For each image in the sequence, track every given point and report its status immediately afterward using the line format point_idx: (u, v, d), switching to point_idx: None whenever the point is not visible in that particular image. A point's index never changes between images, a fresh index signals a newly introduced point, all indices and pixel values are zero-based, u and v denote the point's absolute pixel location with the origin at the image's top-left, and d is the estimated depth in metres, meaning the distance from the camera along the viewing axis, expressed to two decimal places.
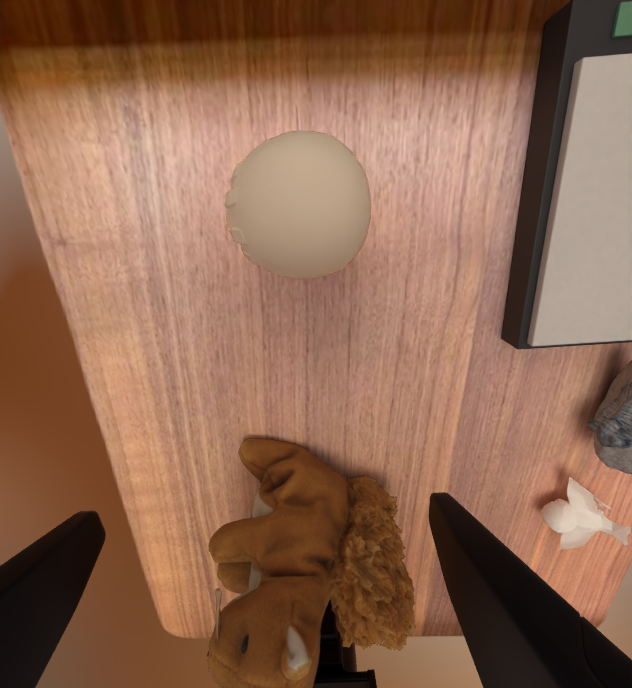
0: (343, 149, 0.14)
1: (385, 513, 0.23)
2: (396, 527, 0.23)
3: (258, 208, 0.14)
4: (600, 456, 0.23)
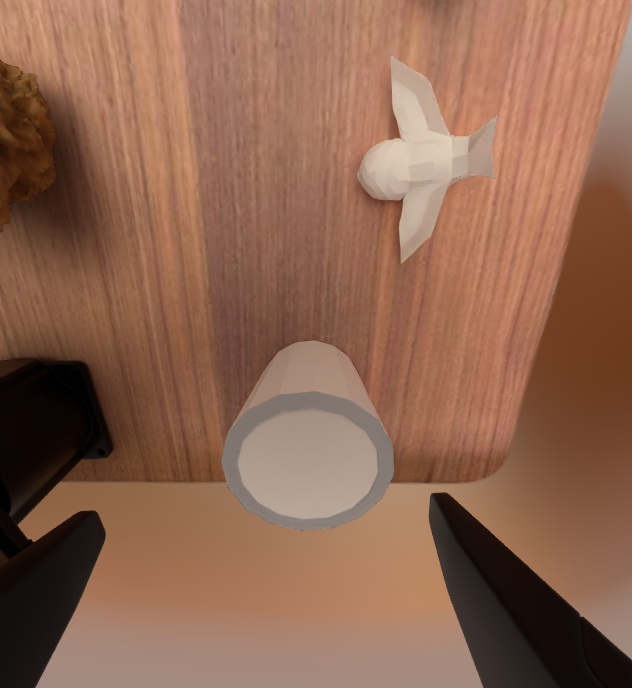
0: None
1: None
2: None
3: None
4: None
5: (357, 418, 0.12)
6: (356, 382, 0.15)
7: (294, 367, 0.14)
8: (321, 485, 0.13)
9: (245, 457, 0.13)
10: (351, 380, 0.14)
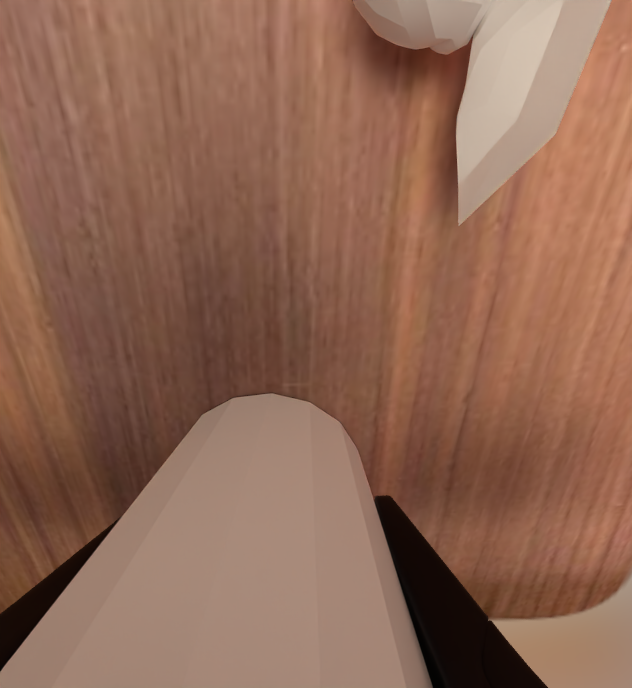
0: None
1: None
2: None
3: None
4: None
5: None
6: (353, 536, 0.06)
7: (182, 508, 0.05)
8: None
9: None
10: (339, 540, 0.05)
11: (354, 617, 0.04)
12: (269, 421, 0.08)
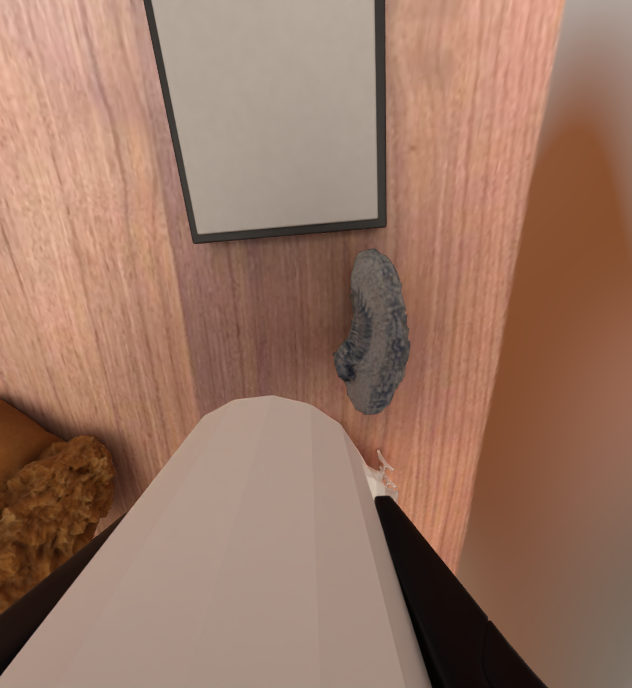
0: None
1: (64, 475, 0.18)
2: (83, 494, 0.18)
3: None
4: None
5: None
6: (353, 540, 0.06)
7: (182, 511, 0.05)
8: None
9: None
10: (339, 544, 0.05)
11: (354, 622, 0.04)
12: (270, 423, 0.08)
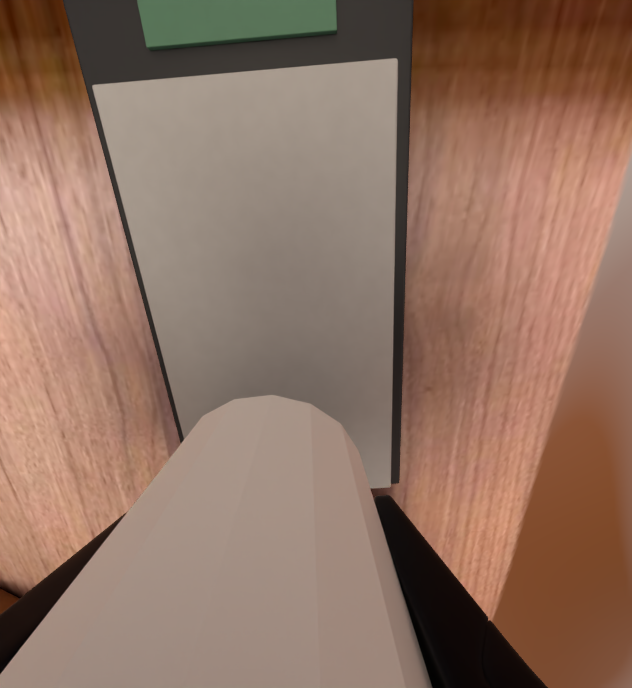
0: None
1: None
2: None
3: None
4: None
5: None
6: (354, 540, 0.06)
7: (182, 511, 0.05)
8: None
9: None
10: (339, 544, 0.05)
11: (354, 623, 0.04)
12: (270, 423, 0.08)
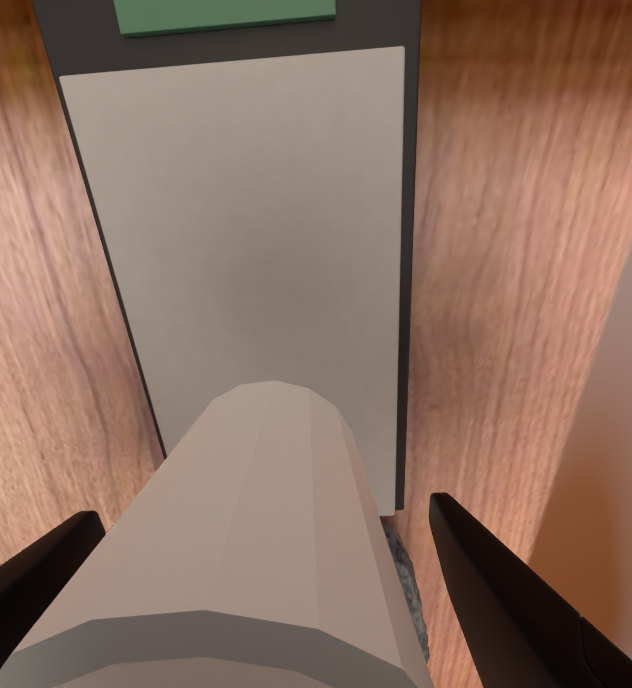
0: None
1: None
2: None
3: None
4: None
5: (340, 672, 0.04)
6: (345, 492, 0.07)
7: (204, 466, 0.06)
8: None
9: None
10: (333, 493, 0.06)
11: (344, 544, 0.05)
12: (273, 402, 0.09)
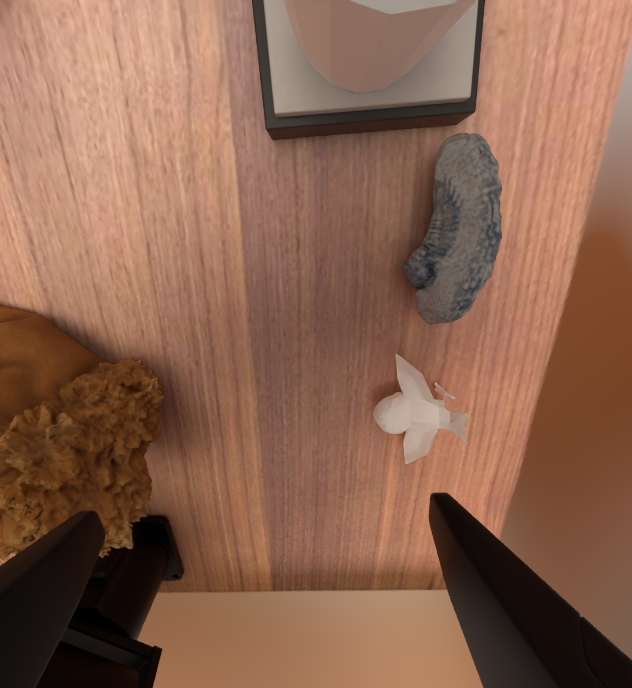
0: None
1: (118, 389, 0.17)
2: (136, 410, 0.17)
3: None
4: (419, 310, 0.17)
5: None
6: None
7: None
8: None
9: None
10: None
11: None
12: None
